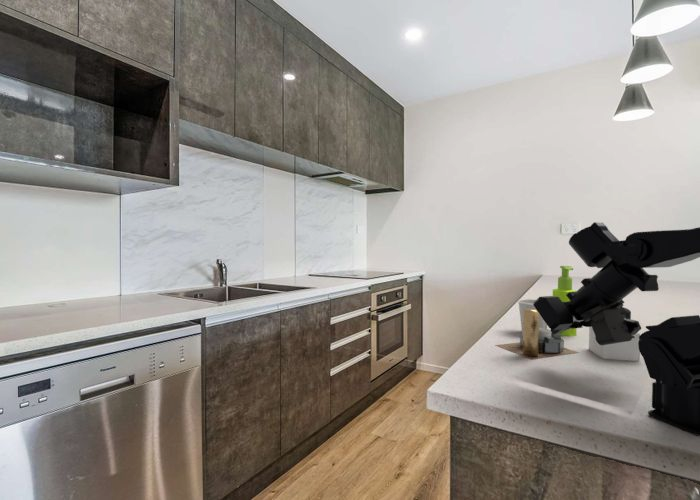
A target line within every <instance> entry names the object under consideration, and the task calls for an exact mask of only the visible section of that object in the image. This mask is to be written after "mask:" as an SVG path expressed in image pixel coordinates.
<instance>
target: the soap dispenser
mask: <svg viewBox="0 0 700 500" xmlns="http://www.w3.org/2000/svg"><path fill="white" fill-rule="evenodd" d="M559 268H560V269H561V275H560V276H558V278H557V288H554V289H552V296H556V297H559V298H560V299H561V301H562V302H569V301H570V299H569V298H568V297H567V296H566V295H567V294H568V293H569V292H576V291H577V290H575V289H573V278H572V277H570V274H569V271H574V267H573V266H571V265H570V266H569V265H560V266H559ZM559 334H561V337H562V336H564V337H575V336H577V328H575V329H572V328H571V329H569V330H566V331H564V332H561V333H559Z"/></svg>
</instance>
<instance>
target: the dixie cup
mask: <svg viewBox="0 0 700 500" xmlns="http://www.w3.org/2000/svg"><path fill="white" fill-rule="evenodd" d="M536 300H537V299H532V298H526V299H523V298H521V299H518V300H517V302H518V308H519V316H520V327H521V333H523V309H536V308H535V307H534V305H533V304H534V302H535V301H536ZM539 328H544V329H548V325H547V324H546V323H545V321H544V320H543V318H542V317H541V315H540V314H539Z"/></svg>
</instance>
